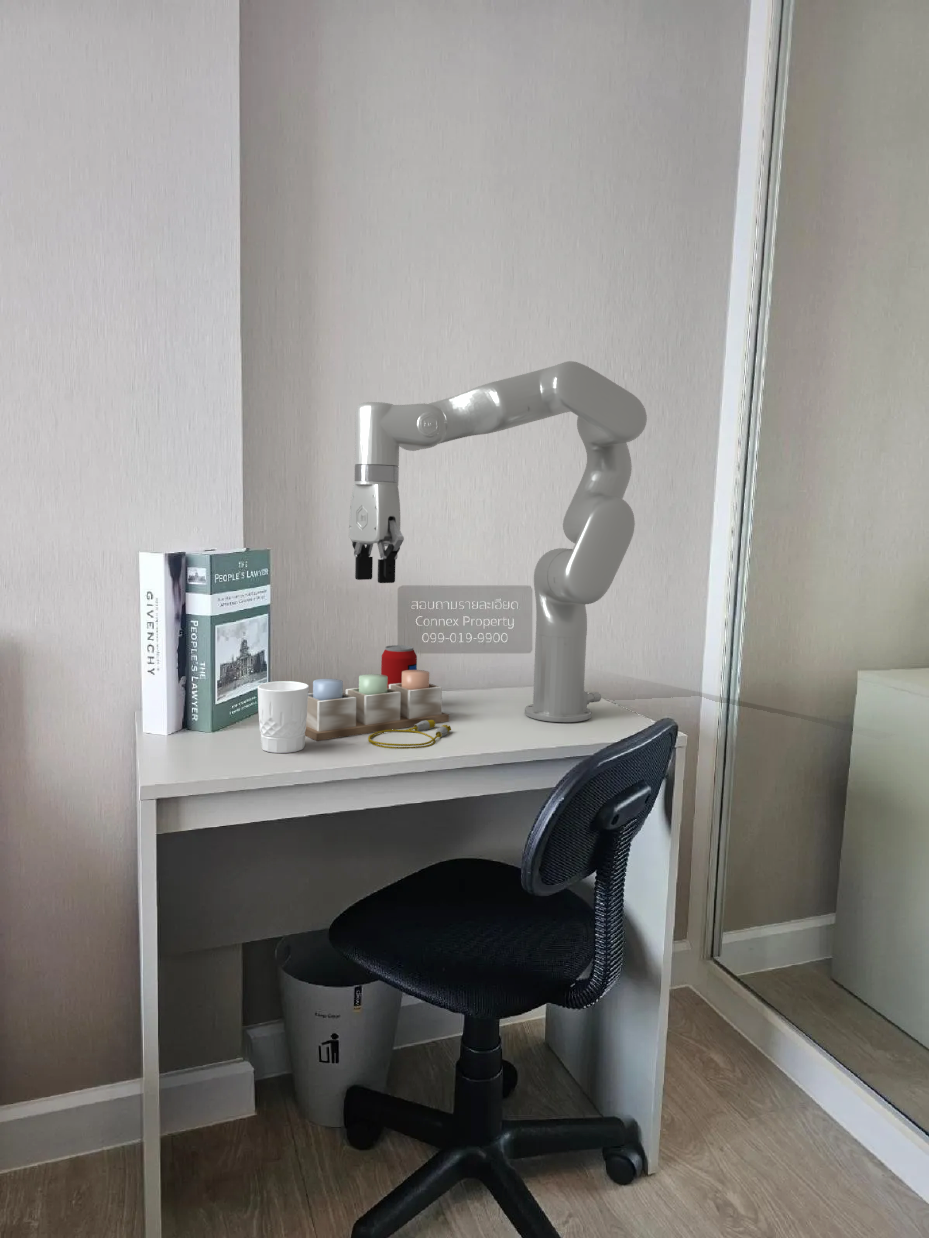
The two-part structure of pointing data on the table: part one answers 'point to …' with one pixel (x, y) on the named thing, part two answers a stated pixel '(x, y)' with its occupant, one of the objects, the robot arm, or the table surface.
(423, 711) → the button board
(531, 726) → the table surface
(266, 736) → the white cup
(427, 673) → the pink rounded cylinder
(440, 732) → the extension cord
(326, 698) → the slate blue cap
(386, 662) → the beverage can
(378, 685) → the sage green cap
